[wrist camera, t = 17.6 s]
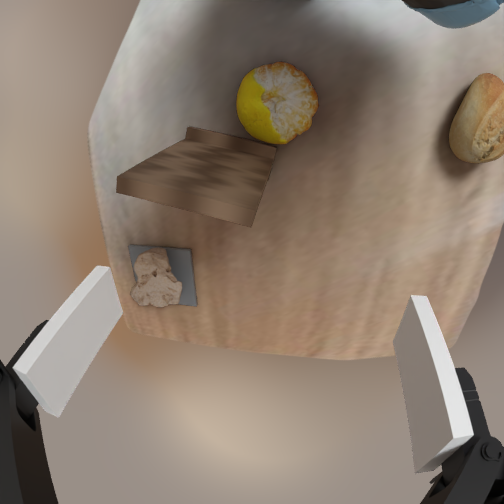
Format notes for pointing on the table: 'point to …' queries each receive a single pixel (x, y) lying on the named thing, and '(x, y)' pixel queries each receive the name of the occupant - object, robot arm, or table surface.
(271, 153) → the board
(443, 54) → the table surface
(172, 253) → the pad
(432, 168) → the table surface
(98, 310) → the robot arm
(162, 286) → the stone
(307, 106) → the fruit
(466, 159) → the bread roll
